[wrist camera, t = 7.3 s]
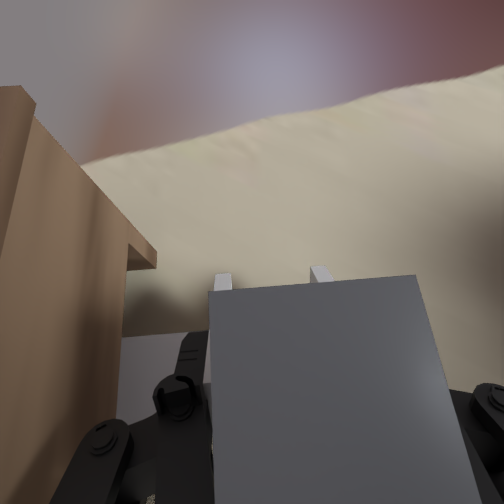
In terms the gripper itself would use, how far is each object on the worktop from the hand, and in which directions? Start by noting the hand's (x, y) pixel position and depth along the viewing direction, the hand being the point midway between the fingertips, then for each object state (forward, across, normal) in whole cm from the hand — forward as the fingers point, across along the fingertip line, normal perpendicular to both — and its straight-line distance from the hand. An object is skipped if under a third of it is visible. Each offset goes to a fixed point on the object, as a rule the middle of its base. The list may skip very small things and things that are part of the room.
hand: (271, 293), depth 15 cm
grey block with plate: (0, +6, +5) cm, 8 cm away
